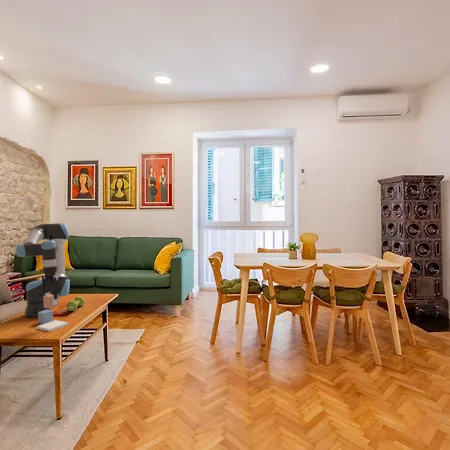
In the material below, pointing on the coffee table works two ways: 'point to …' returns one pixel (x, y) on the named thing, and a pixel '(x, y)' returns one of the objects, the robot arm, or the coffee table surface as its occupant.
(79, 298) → the dumbbell
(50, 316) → the slate block
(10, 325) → the coffee table surface
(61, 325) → the baseboard
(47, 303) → the terracotta block
